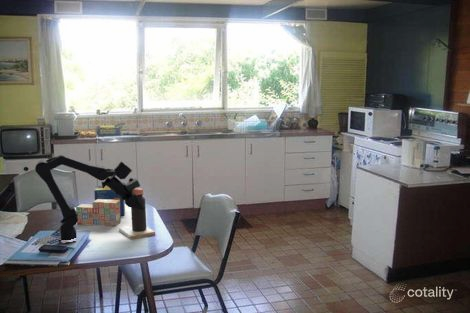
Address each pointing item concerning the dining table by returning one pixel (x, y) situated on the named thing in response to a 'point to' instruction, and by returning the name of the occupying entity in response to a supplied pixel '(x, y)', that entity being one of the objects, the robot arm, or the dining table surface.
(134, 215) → the vinegar
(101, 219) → the stack of blocks
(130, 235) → the white flat block
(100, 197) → the protein box
